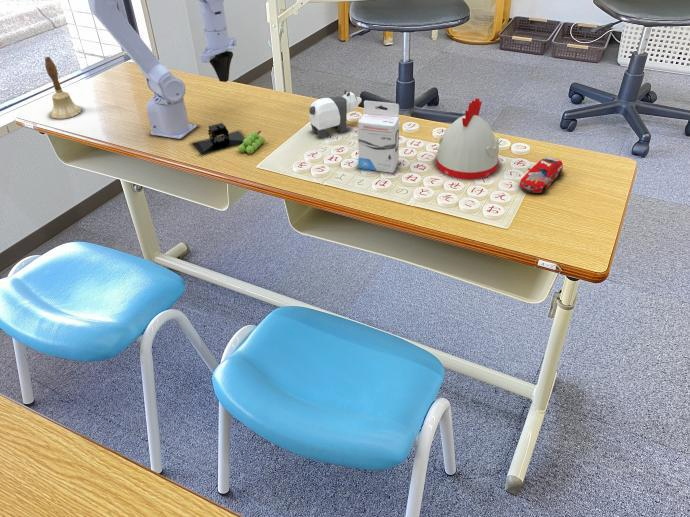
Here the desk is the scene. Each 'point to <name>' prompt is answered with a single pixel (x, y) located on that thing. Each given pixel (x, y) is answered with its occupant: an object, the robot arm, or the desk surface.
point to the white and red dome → (468, 147)
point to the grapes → (251, 143)
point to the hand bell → (60, 95)
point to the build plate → (218, 139)
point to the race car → (542, 175)
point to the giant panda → (332, 112)
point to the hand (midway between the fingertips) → (224, 80)
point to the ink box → (379, 137)
